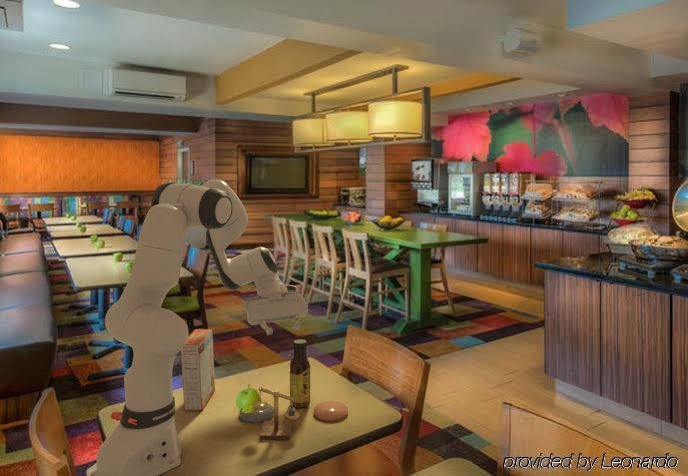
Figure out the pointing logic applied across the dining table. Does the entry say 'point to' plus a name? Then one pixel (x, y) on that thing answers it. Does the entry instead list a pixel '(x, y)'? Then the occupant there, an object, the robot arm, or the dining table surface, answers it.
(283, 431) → the brass balance
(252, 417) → the slate dish
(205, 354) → the cracker box
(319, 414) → the terracotta dish
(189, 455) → the dining table surface
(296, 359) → the sauce bottle
